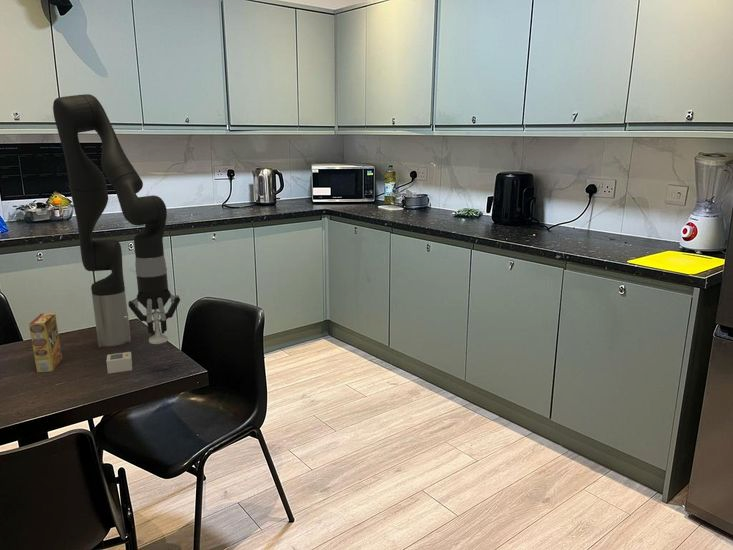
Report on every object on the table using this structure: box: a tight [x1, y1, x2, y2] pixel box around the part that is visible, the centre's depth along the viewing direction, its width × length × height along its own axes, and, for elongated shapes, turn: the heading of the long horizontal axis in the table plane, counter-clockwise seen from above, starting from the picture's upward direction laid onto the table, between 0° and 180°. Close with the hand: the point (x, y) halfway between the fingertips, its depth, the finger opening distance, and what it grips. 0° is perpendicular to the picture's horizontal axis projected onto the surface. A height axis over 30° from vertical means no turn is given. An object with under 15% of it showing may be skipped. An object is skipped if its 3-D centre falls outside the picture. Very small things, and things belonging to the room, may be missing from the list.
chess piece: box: [148, 309, 169, 345], centre depth 148 cm, size 5×5×10 cm
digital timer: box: [106, 351, 133, 375], centre depth 149 cm, size 6×5×4 cm
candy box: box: [28, 312, 63, 373], centre depth 150 cm, size 9×4×15 cm, turn 13°
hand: (157, 333), depth 149 cm, fingers closed on chess piece
